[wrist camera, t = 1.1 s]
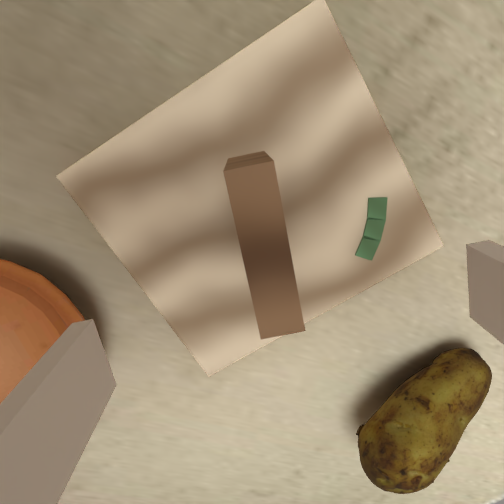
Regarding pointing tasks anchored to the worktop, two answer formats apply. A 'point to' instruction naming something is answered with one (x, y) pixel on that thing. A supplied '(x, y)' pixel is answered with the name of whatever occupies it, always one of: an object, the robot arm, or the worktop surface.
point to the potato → (423, 422)
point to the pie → (28, 321)
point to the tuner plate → (289, 181)
